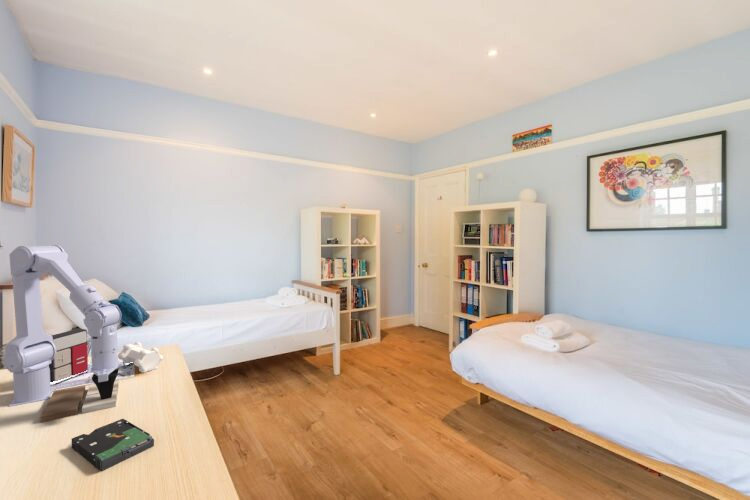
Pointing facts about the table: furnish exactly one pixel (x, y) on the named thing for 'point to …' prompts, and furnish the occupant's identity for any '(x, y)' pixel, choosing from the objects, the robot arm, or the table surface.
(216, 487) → the table surface
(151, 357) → the bone shaped toy
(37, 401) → the robot arm
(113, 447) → the disk drive
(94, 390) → the plank
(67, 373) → the calculator
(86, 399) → the plank
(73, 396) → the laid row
